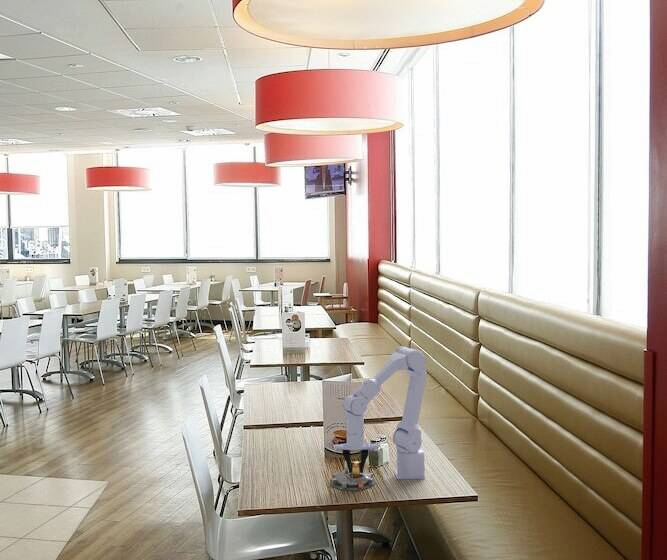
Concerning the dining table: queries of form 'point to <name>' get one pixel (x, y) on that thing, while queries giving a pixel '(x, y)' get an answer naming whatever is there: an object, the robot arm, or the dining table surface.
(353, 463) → the roller
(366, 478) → the grey toothed wheel
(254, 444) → the dining table surface
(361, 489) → the base flange
